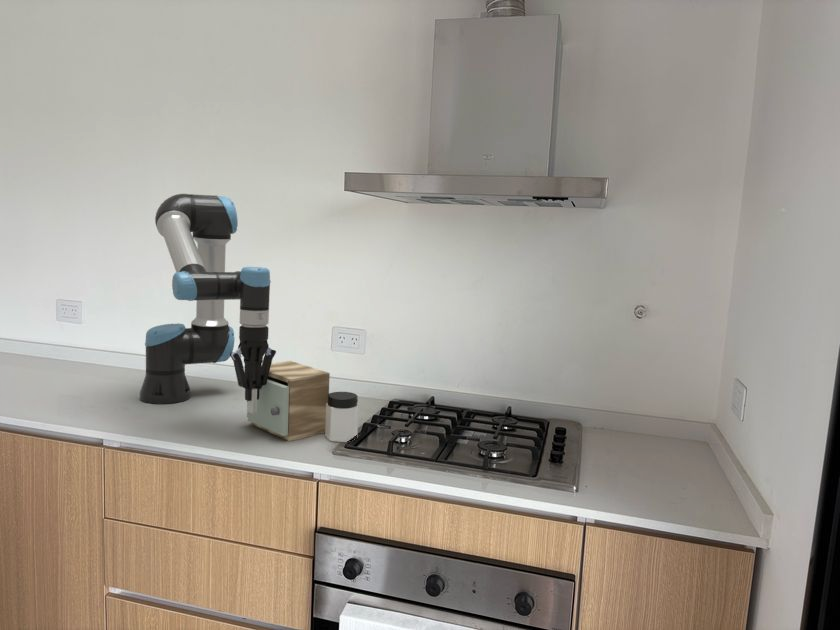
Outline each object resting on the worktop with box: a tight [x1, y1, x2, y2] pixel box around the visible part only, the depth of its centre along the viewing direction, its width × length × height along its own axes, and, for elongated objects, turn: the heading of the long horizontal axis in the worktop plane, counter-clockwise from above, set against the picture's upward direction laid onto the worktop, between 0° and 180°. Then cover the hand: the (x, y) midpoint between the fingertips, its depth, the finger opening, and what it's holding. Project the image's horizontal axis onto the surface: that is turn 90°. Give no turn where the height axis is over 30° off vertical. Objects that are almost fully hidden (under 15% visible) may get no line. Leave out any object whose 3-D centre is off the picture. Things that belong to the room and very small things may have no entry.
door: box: [246, 379, 289, 436], centre depth 182 cm, size 18×3×13 cm, turn 46°
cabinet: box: [250, 360, 331, 442], centre depth 188 cm, size 19×13×17 cm
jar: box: [324, 391, 359, 443], centre depth 183 cm, size 9×8×12 cm
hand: (251, 411), depth 180 cm, fingers closed
